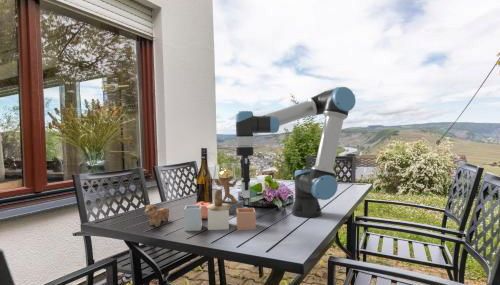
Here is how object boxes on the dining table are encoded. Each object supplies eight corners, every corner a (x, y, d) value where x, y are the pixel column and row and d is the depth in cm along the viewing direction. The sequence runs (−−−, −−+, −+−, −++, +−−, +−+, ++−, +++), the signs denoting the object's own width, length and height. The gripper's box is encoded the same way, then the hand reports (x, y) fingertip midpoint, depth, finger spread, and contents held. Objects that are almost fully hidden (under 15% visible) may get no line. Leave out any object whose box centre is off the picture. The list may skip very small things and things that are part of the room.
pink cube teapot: (213, 220, 147) (213, 203, 146) (189, 220, 148) (189, 203, 148) (216, 216, 154) (216, 200, 154) (194, 216, 156) (193, 200, 156)
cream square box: (228, 224, 139) (228, 205, 139) (229, 230, 130) (228, 209, 130) (209, 225, 138) (208, 206, 138) (207, 231, 129) (207, 210, 129)
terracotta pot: (254, 225, 137) (253, 207, 137) (255, 230, 129) (255, 212, 129) (236, 226, 137) (236, 208, 136) (237, 231, 129) (237, 212, 128)
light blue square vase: (202, 227, 136) (201, 205, 136) (200, 231, 129) (200, 208, 129) (186, 227, 135) (185, 205, 135) (184, 232, 128) (183, 209, 128)
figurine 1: (139, 227, 136) (139, 205, 136) (162, 218, 151) (162, 199, 151) (151, 229, 134) (151, 206, 134) (173, 220, 149) (173, 199, 148)
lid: (229, 204, 139) (229, 187, 139) (230, 210, 129) (230, 191, 129) (207, 205, 138) (206, 188, 138) (205, 211, 128) (205, 192, 128)
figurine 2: (243, 211, 165) (242, 165, 165) (240, 216, 154) (240, 167, 154) (218, 210, 166) (217, 165, 166) (213, 215, 156) (213, 167, 155)
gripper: (235, 146, 145) (235, 190, 145) (237, 147, 120) (238, 200, 120) (250, 145, 145) (251, 189, 145) (256, 147, 120) (256, 200, 121)
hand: (245, 194), depth 133 cm, fingers open, 13 cm apart
